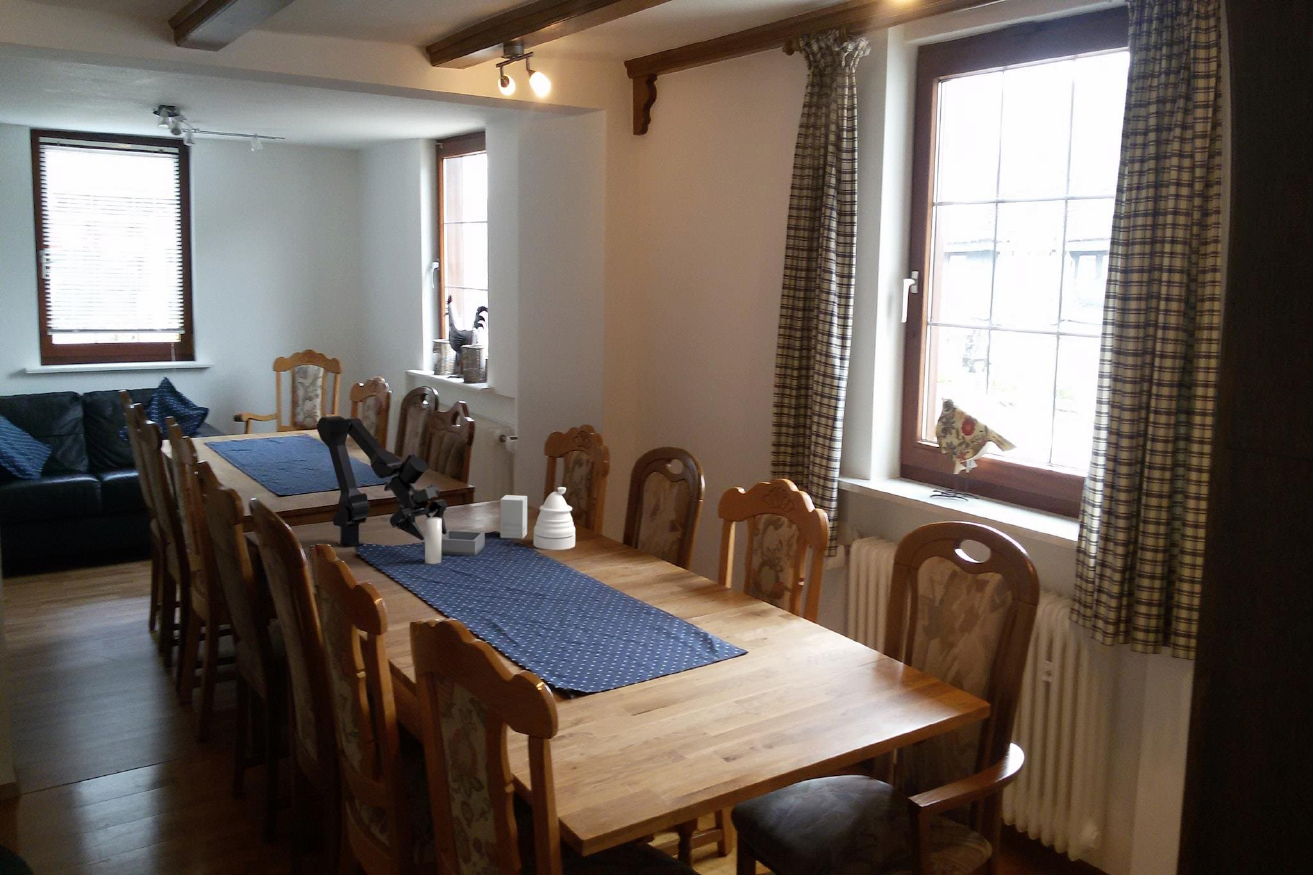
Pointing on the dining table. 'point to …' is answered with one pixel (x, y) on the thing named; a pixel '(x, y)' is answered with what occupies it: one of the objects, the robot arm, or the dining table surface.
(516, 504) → the supplement box
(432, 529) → the ceramic pillar
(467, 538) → the grey crate
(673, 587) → the dining table surface
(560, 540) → the honey pot
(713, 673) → the dining table surface
